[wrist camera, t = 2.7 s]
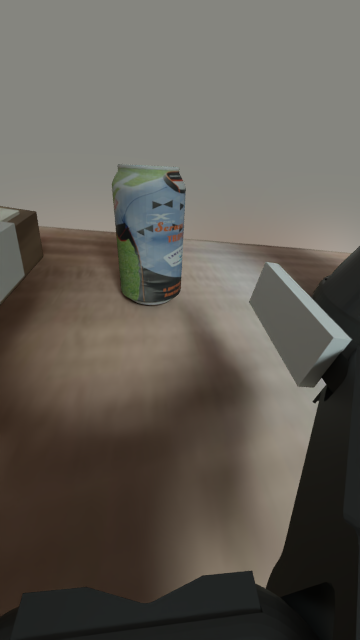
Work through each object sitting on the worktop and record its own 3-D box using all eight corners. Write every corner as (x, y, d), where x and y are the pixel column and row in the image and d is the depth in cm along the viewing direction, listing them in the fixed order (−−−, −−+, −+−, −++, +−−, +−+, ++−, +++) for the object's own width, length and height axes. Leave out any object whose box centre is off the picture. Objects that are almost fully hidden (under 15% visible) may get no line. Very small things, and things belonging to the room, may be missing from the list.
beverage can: (164, 321, 23) (191, 176, 16) (97, 296, 24) (93, 151, 17) (186, 292, 28) (213, 172, 21) (128, 273, 29) (136, 153, 22)
